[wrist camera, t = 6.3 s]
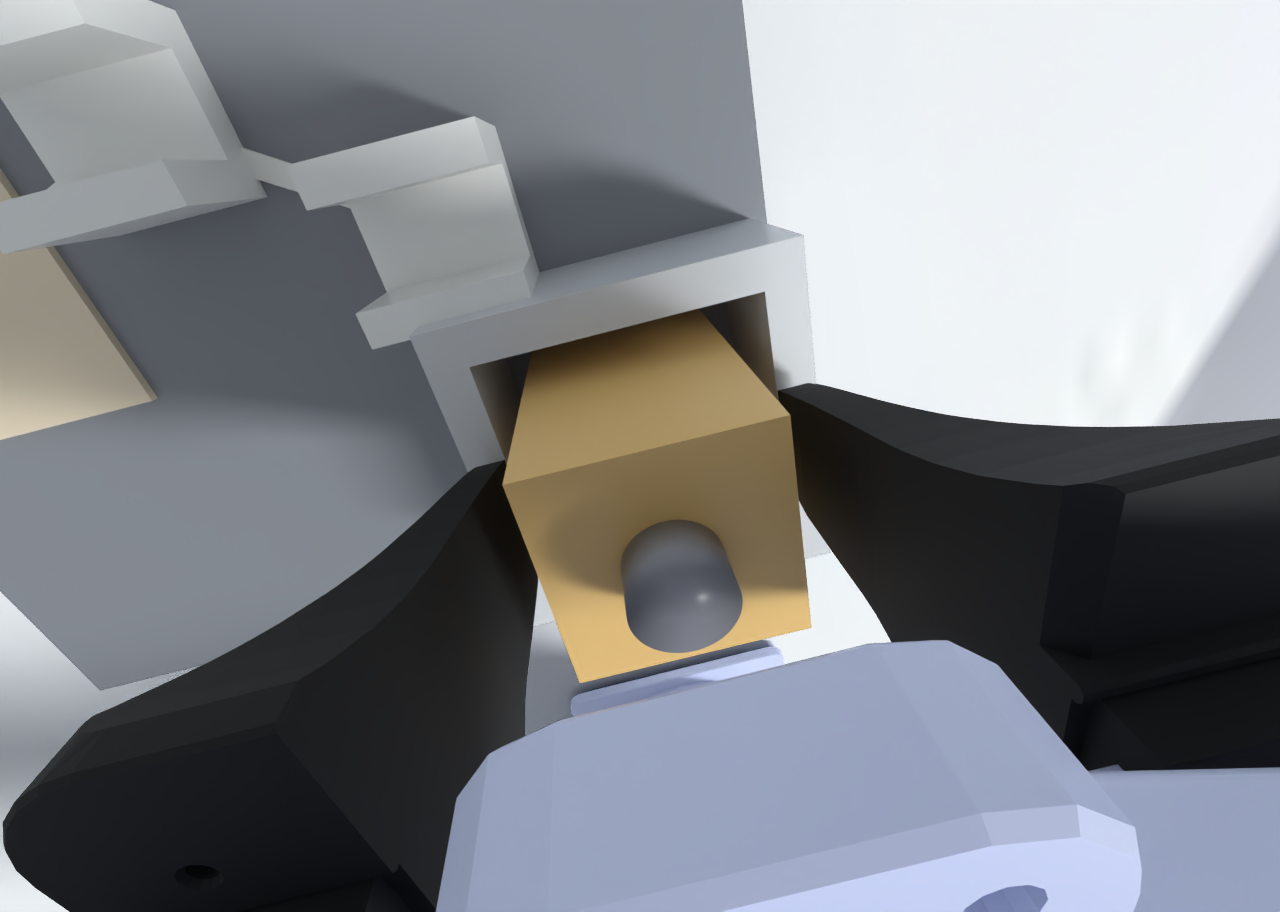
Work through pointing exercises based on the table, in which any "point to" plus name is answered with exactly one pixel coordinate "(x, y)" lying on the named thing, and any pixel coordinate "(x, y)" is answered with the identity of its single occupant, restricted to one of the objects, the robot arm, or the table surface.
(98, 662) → the cable board
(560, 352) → the connector plug
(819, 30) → the table surface
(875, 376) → the table surface
